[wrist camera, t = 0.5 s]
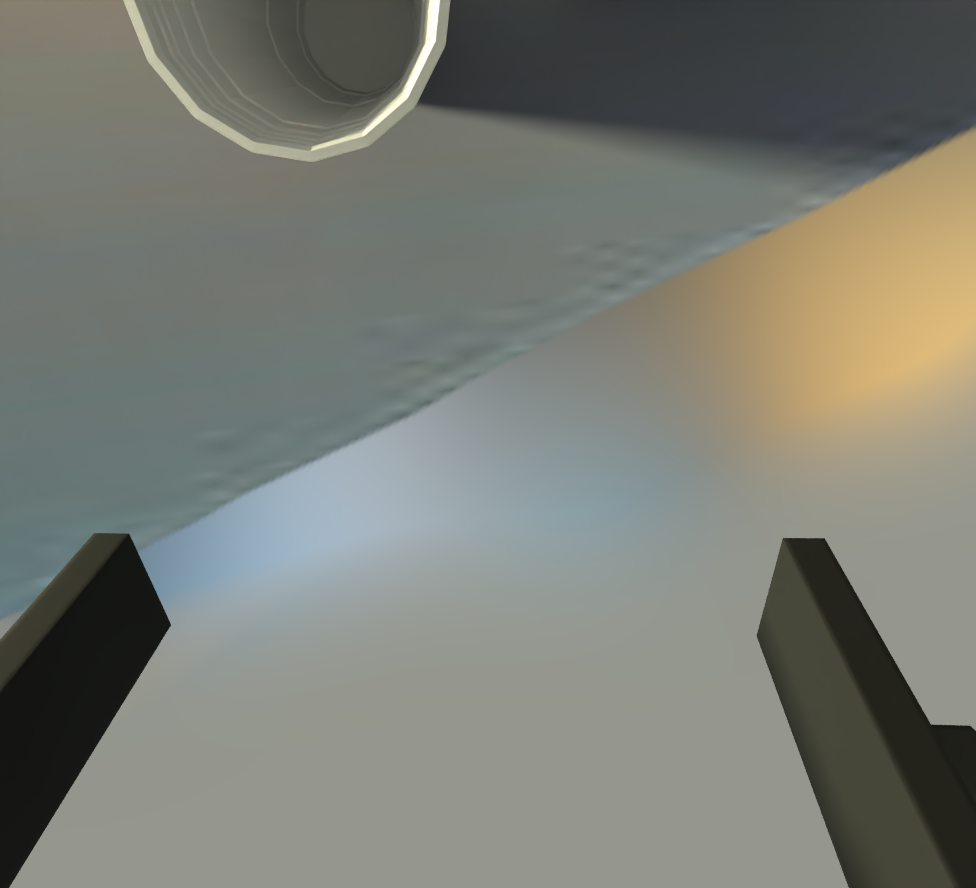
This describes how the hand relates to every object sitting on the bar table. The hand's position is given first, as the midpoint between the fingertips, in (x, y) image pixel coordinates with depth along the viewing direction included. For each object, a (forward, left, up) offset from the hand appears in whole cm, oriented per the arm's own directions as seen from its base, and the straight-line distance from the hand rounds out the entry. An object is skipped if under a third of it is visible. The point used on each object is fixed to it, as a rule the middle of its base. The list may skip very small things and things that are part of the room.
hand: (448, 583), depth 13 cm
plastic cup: (-13, -5, -26) cm, 30 cm away
